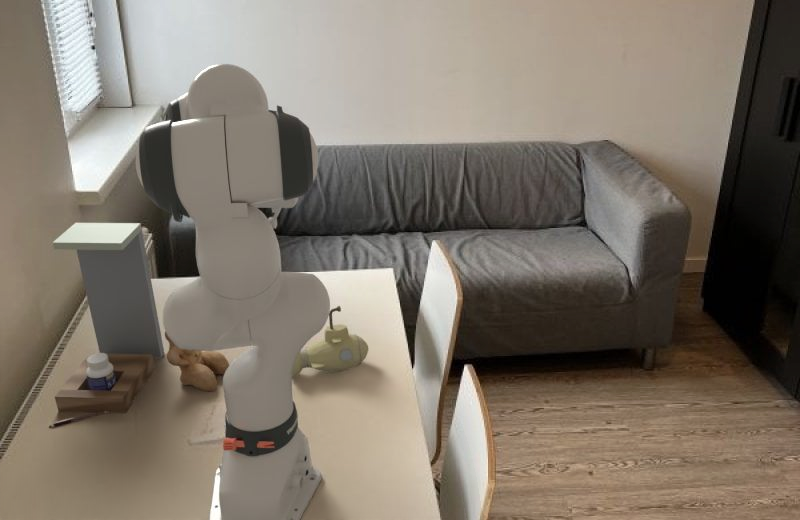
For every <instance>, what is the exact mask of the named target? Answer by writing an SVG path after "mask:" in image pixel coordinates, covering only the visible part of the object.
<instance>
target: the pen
mask: <svg viewBox="0 0 800 520" xmlns="http://www.w3.org/2000/svg"><path fill="white" fill-rule="evenodd" d="M104 414H107V412H106V411H100V412H91V413H90V414H85V415H81V416H76V417H70V418H66V419H62V420H59V421H58V420H57V421H55V422H52V423H51V425H49V426H48V428H56V427H59V426H65V425H66V424H71V423H76V422H78V421H82V420H86V419H90V418H93V417H97V416H99V415H104Z"/></svg>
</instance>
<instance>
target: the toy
mask: <svg viewBox="0 0 800 520" xmlns="http://www.w3.org/2000/svg"><path fill="white" fill-rule="evenodd" d="M334 312H339V313H341V312H342V308H341V306H340V305H338V306H336V307H335V308H331V309H330V312H329V316H328V319H329V326H327V327H326V329H325V330H324V338H322V339H319V340H318V341H315V342H314V343H313V344H311V345H310V346H307V347H305V348H304V349H301V351H300V352H299V354H298V356H297V358H296V360H295V362H294V365H293V370H292V376H296V375H300V373H301V372H302V371H303V369H306V368H311V369H314V370H316V371H317V370H318V371H323V372H328V373H329V372H330V373H331V372H332V373H333V372H335V373H336V372H343V371H347V370H350V369H353V368H355V367H357V366H358V365H361V364H362V363H363V362H364V361H365V360H366V357H367V355H368V353H369V345H368V343H367V342H366V340H364V339H363V338H362V337H360V336H359V335H357V334H356V333H354V334H352V333H350V332H349V329H348V327H347V325H345V324H341V323H340V324H333V313H334Z"/></svg>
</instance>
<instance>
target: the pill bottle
mask: <svg viewBox="0 0 800 520" xmlns="http://www.w3.org/2000/svg"><path fill="white" fill-rule="evenodd" d="M87 363H88V368H87V371H86V374H87V379H88V383H89V387H90V390H102V391H111V390H112V388H113V387H114V385H115V384H116V383H117V382H116V377H115V372H114V368H113V365H112V364H111V363H110V362H109V359H108V356H107V354H105V353H100V352H97V353H96V354H93V355H91V356H89V357H88V358H87Z"/></svg>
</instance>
